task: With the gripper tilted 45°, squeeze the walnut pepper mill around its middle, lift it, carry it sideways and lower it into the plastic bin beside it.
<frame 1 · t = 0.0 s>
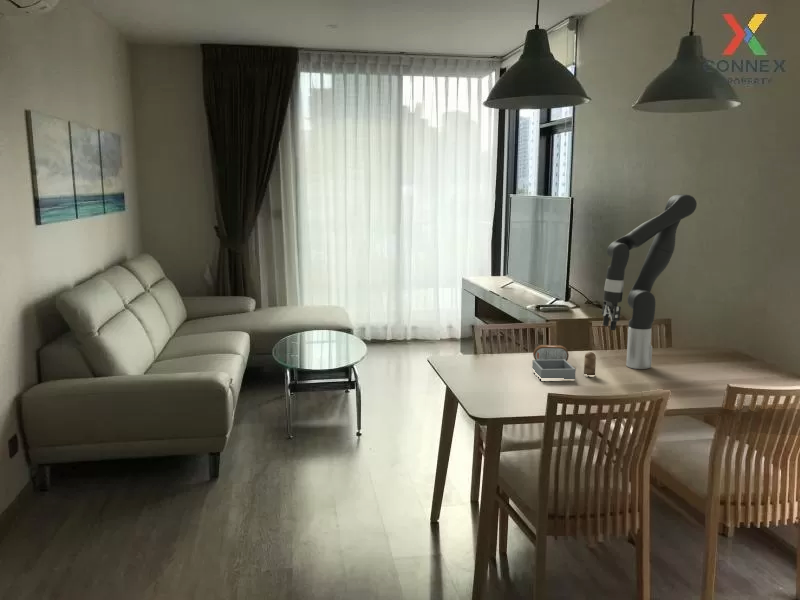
hand: (609, 327, 269), 17 cm above the table, tool pointing down, fingers open, 8 cm apart
tin: (550, 364, 277), on the table
pepper mill: (589, 375, 259), on the table
bin: (553, 376, 259), on the table
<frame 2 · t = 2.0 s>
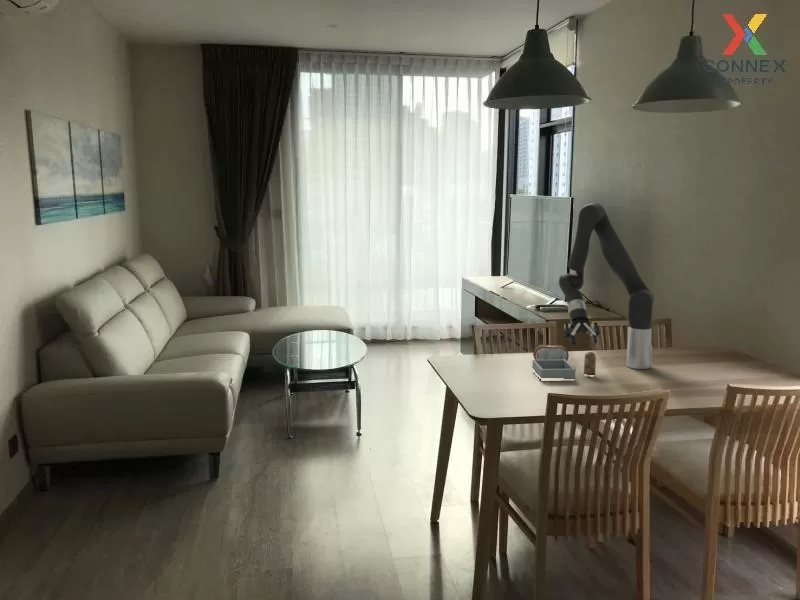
hand: (584, 344, 264), 11 cm above the table, tool tilted 45°, fingers open, 8 cm apart
nothing on the table moved.
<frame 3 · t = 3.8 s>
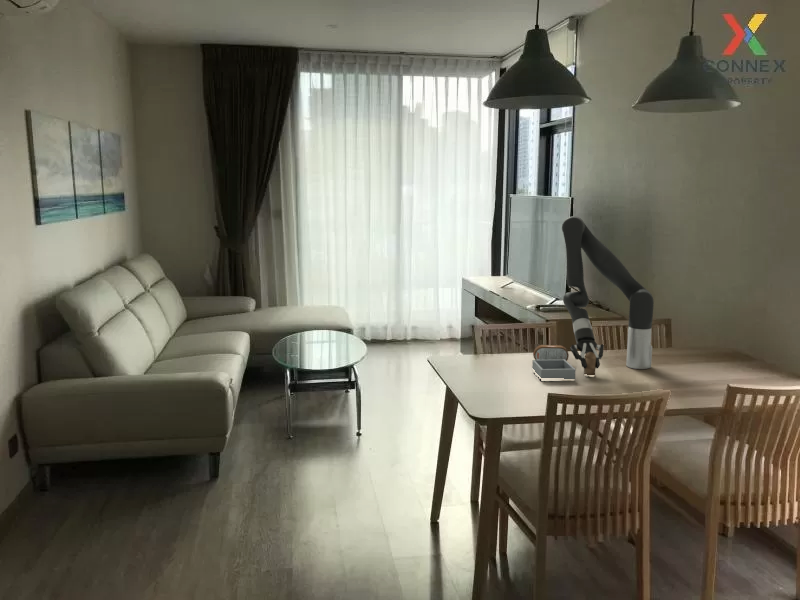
hand: (591, 367, 256), 4 cm above the table, tool tilted 45°, fingers closed on pepper mill, 4 cm apart
pepper mill: (589, 375, 259), on the table, touching gripper
everything else where it was.
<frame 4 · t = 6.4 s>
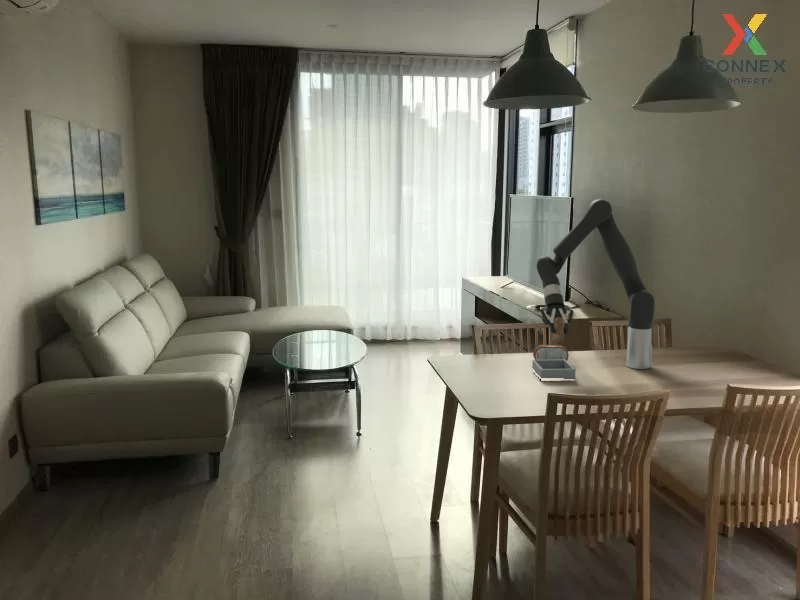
hand: (559, 332, 254), 19 cm above the table, tool tilted 45°, fingers closed on pepper mill, 4 cm apart
pepper mill: (557, 341, 257), point 15 cm above the table, touching gripper
everything else where it was.
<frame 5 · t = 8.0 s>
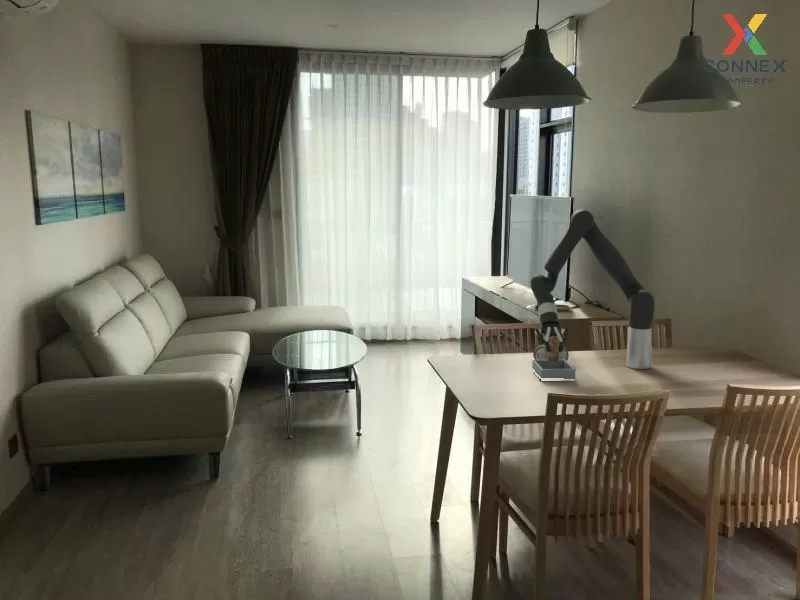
hand: (554, 351, 255), 11 cm above the table, tool tilted 45°, fingers closed on pepper mill, 4 cm apart
pepper mill: (553, 359, 257), point 7 cm above the table, touching gripper
everything else where it was.
when the fingers open (6 cm above the table, at t = 9.3 s): pepper mill drops 1 cm, resting on bin.
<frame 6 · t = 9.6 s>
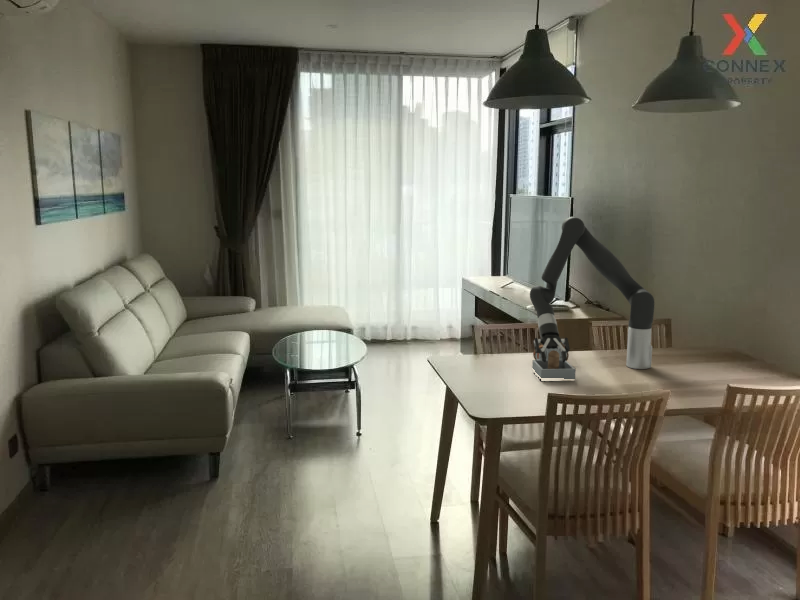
hand: (554, 361, 256), 7 cm above the table, tool tilted 45°, fingers open, 7 cm apart
pepper mill: (553, 374, 258), point 1 cm above the table, touching bin
everything else where it was.
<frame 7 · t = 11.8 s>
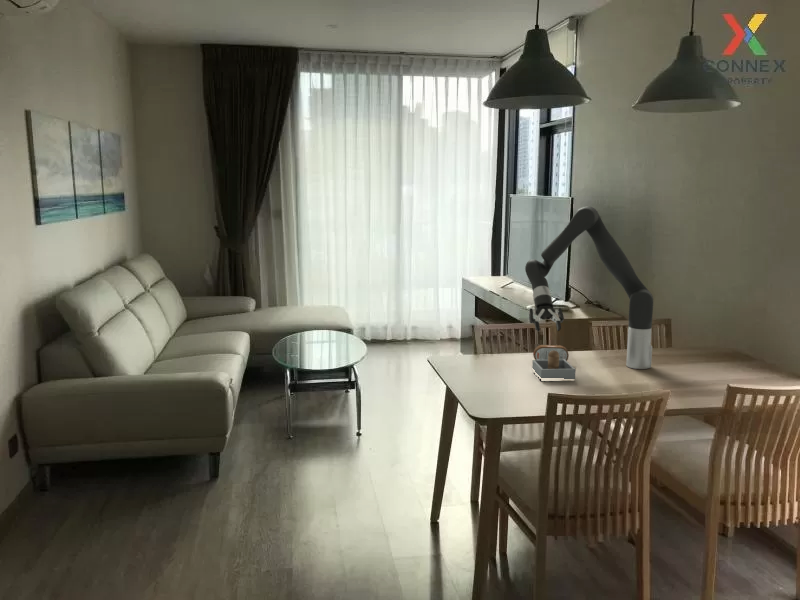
hand: (548, 330, 266), 17 cm above the table, tool tilted 45°, fingers open, 8 cm apart
nothing on the table moved.
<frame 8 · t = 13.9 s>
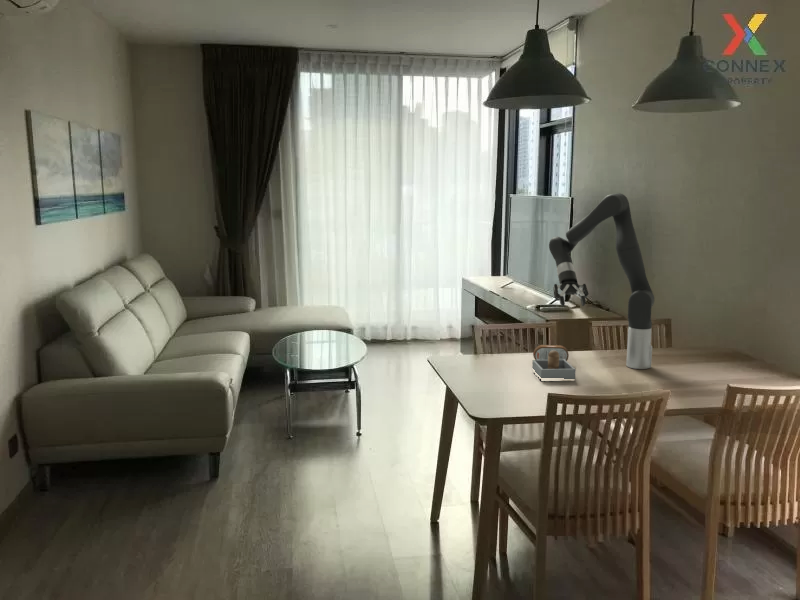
hand: (573, 305, 269), 27 cm above the table, tool tilted 45°, fingers open, 8 cm apart
nothing on the table moved.
at the end: pepper mill inside the target area on the bin (0.1 cm from its centre), point 0.8 cm above the bin's base; the gripper is holding nothing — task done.
